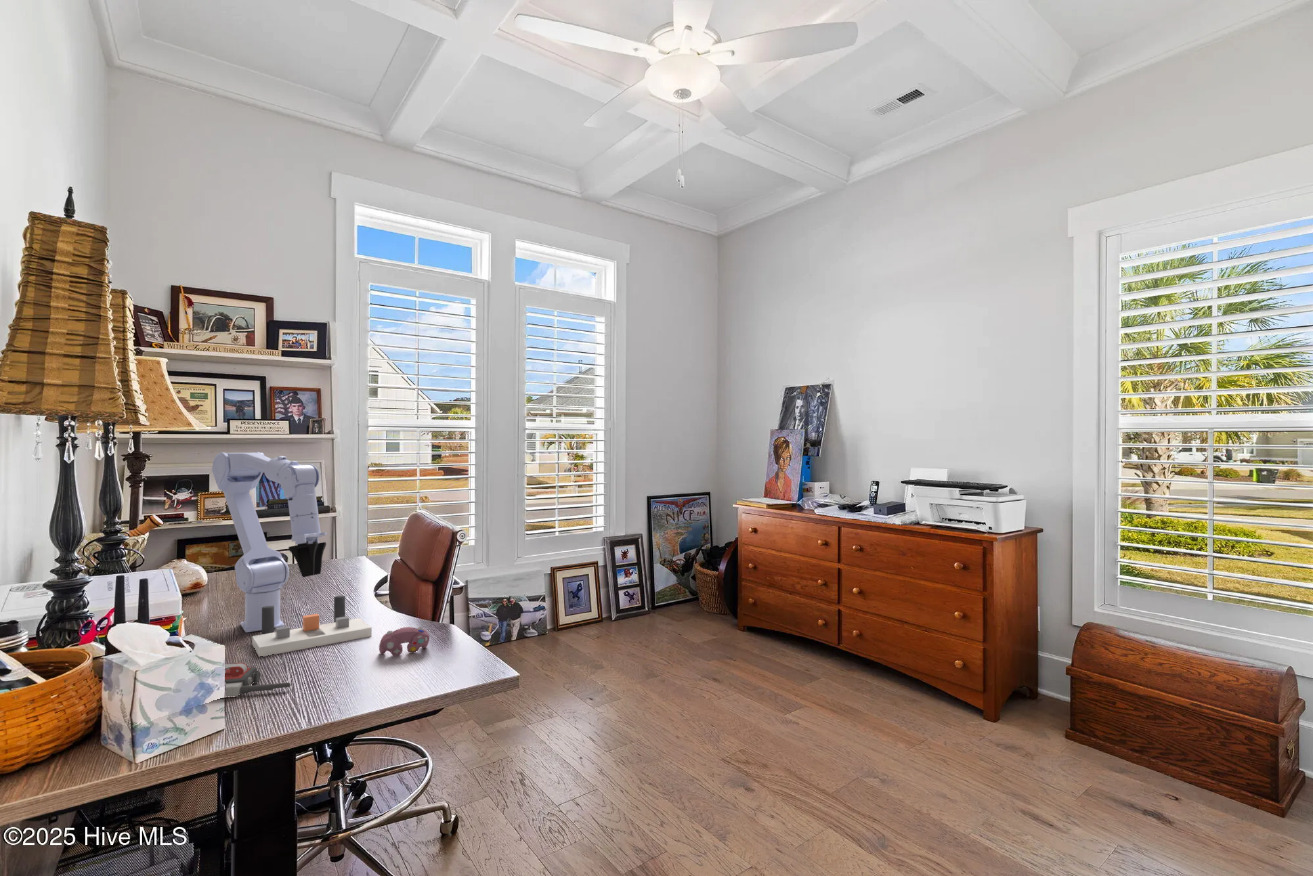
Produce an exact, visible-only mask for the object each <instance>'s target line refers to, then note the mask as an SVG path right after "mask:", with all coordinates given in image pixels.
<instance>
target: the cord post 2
mask: <svg viewBox="0 0 1313 876" xmlns="http://www.w3.org/2000/svg"><path fill="white" fill-rule="evenodd" d="M345 616H346V595H335V596H334V597H333V623H334V622H336V618H339V617H345Z"/></svg>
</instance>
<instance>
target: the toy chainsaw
mask: <svg viewBox="0 0 1313 876" xmlns="http://www.w3.org/2000/svg"><path fill="white" fill-rule="evenodd" d="M224 664H225V669H224V670H226V673H225V682H226V696H238V695H239V694H241V695H242V694H249V693H253V692H262V691H264V692H265V691H273V690H274V689H281V688H282V689H284V688H290V687H291V686H292V685H291V682H279V683H267V684H266V683H265V684H258V685H257V684H256V685H254V684H253V685H252V686H251V684H252V683H253V682H258V681H259V682H260V679H261V671H260V670H258V668H257V667H248V665H247V664H246V663H244V662H238V663H224ZM259 682H258V683H259Z"/></svg>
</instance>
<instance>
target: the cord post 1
mask: <svg viewBox="0 0 1313 876" xmlns="http://www.w3.org/2000/svg"><path fill="white" fill-rule="evenodd" d="M274 632H275V628H274V606H265V607H262V630H261V635H262V634H268V633H274Z"/></svg>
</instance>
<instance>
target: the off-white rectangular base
mask: <svg viewBox="0 0 1313 876" xmlns="http://www.w3.org/2000/svg"><path fill="white" fill-rule="evenodd" d="M372 635H373V634H372V626H370V625H369V624H368V623H367V622H365V621H364V620H363V619H361V618H360V617H359V618H351V619H350V618H349V616H347V615H345V617H339V618H336V622H334V621H333V622H327V623H322V624H319V629H315V630H309V631H304V630H303V627H299V628H293V629H291V627H290V626H289V625H286V626H283V627H277V628H275V631H274V633H268V634H262V633H261V634H257V635H253V636H251V637H252V639H251V641H252V643H251V644H252V648H253V649H254V648H255V649H254V650H256V651H255V652H256V654H257V655H258V657H259V658H261V657H260V656H263V657H267V656H268V655H269V656H273V655H272V654H274V655H278V654H283V653H289V652H295V651H300V650H304V649H311V648H315V647H316V646H317V647H321V646H328V645H332V644H338V643H341V642H343V643H344V642H348V641H353V640H358V639H365V638H370V637H372Z"/></svg>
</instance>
